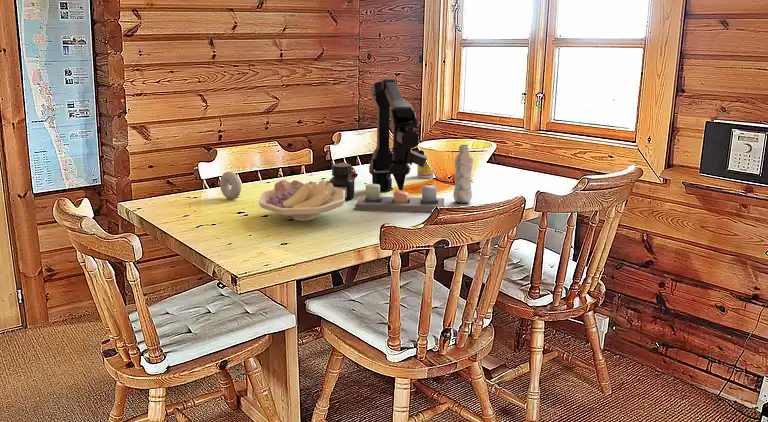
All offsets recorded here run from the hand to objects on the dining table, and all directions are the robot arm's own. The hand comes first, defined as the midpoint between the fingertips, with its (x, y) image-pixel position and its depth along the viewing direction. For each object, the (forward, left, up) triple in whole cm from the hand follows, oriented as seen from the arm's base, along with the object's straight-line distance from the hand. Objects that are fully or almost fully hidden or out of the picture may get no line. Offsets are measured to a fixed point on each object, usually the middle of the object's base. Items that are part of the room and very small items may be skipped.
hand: (401, 190), depth 229 cm
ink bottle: (-24, 0, -6) cm, 25 cm away
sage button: (-9, -4, -3) cm, 10 cm away
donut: (-56, -22, -6) cm, 61 cm away
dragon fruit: (-38, +23, -6) cm, 45 cm away
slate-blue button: (+9, +4, -3) cm, 10 cm away
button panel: (0, 0, -6) cm, 6 cm away
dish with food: (-19, -29, -6) cm, 35 cm away
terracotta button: (0, 0, -5) cm, 5 cm away
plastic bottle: (+15, +17, -6) cm, 24 cm away
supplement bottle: (-16, +49, -6) cm, 52 cm away
